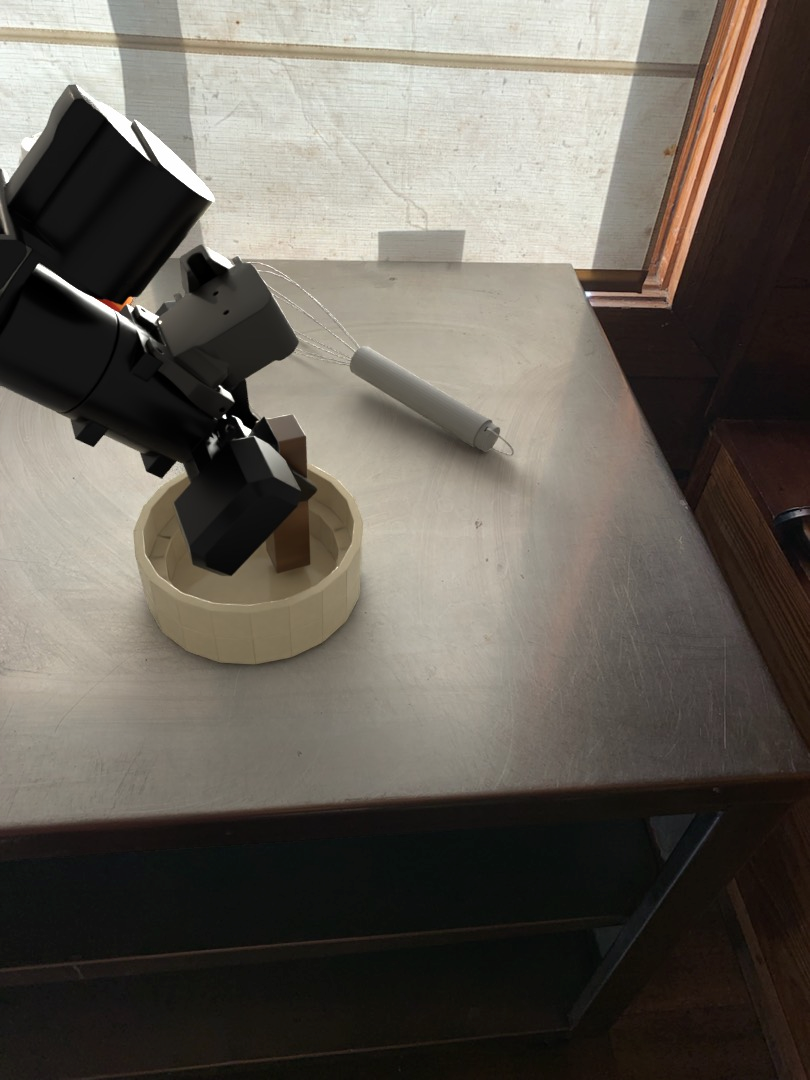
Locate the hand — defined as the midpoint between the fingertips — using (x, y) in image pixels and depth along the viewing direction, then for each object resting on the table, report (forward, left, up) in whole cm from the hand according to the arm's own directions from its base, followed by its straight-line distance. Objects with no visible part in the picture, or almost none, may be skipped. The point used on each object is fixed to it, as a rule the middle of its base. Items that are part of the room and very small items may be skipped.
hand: (305, 480), depth 50 cm
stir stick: (-1, 0, -7) cm, 7 cm away
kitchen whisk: (+9, +22, -8) cm, 25 cm away
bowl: (-4, -1, -8) cm, 9 cm away
